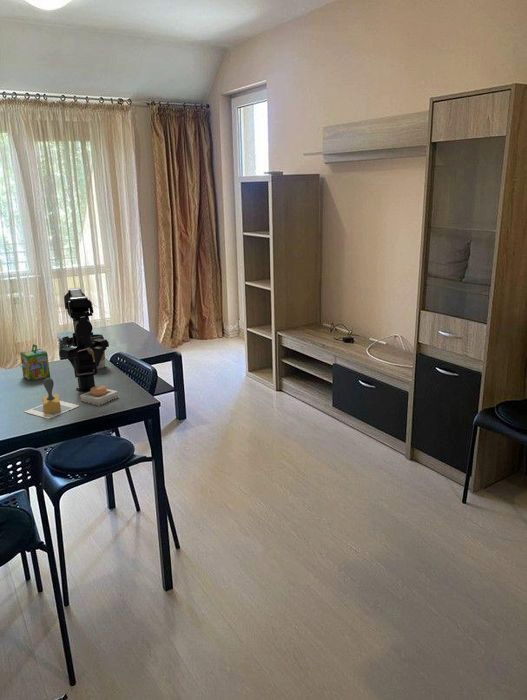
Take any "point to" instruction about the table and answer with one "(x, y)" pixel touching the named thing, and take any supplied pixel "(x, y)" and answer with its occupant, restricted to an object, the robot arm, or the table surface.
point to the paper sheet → (40, 412)
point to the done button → (98, 391)
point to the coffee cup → (102, 361)
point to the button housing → (101, 399)
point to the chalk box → (35, 364)
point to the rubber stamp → (50, 398)
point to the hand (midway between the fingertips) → (87, 369)
